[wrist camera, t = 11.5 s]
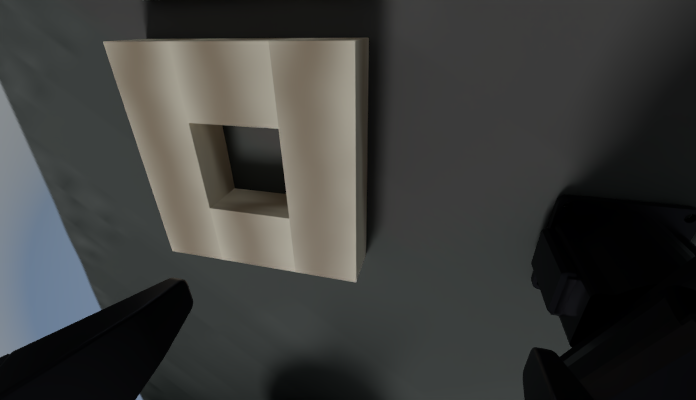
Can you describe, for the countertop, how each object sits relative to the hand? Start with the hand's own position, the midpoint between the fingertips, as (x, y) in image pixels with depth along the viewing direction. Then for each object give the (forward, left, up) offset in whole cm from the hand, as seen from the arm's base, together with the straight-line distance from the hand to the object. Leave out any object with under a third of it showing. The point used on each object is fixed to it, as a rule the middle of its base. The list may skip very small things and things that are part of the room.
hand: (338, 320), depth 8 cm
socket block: (+9, +1, -13) cm, 16 cm away
